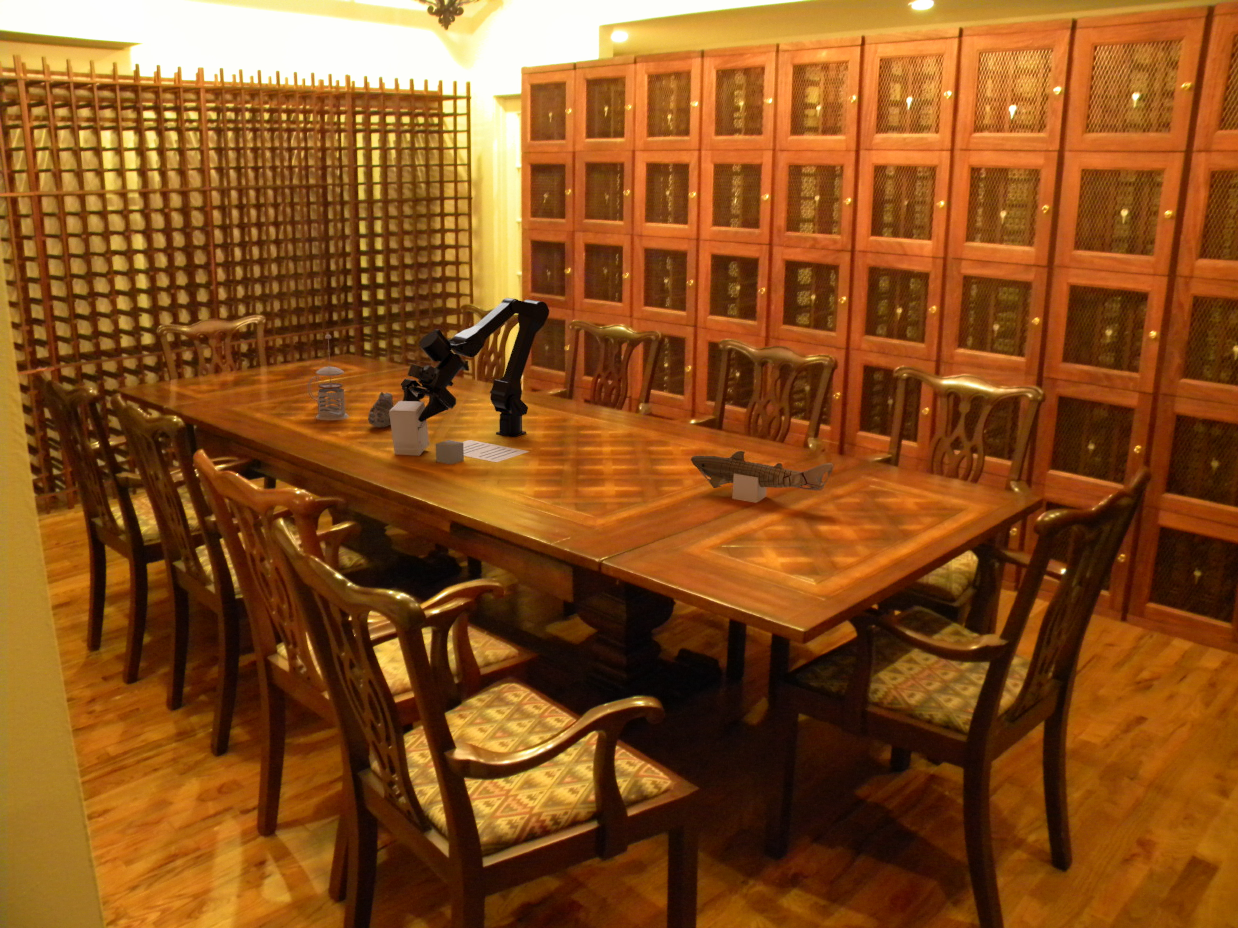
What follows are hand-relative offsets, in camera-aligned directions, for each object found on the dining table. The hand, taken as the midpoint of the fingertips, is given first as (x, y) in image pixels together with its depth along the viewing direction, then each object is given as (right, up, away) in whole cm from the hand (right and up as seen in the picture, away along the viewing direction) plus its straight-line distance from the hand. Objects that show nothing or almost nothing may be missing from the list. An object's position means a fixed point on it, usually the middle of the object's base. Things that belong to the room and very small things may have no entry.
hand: (409, 417), depth 280 cm
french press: (-32, +2, +42) cm, 53 cm away
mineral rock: (-15, -1, +32) cm, 35 cm away
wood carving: (+88, -21, -31) cm, 95 cm away
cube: (+11, -12, -5) cm, 17 cm away
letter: (+18, -9, +6) cm, 21 cm away
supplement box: (0, -9, +3) cm, 9 cm away
